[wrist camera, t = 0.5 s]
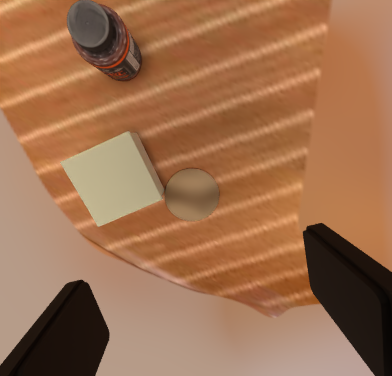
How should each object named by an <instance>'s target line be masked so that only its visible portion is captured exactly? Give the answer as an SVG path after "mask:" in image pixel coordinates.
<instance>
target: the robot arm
mask: <svg viewBox="0 0 392 376" xmlns="http://www.w3.org/2000/svg"><path fill="white" fill-rule="evenodd" d="M303 238H304V245H305V252H306V260H307V267H308V274H309V281H310V287H311V290H312V292H313V294H314V295H315V296H316V298H317V299H318V300H319V302H320V303H321V304H322V306H323V307H324V308H325V310H326V311H327V312H328V314H329V315H330V316H331V318H332V319H333V320H334V322H335V323H336V324H337V326H338V327H339V328H340V330H341V331H342V332H343V334H344V335H345V336H346V338H347V339H348V340H349V342H350V343H351V344H352V346H353V347H354V348H355V350H356V351H357V352H358V354H359V355H360V356H361V358H362V359H363V360H364V362H365V363H366V364H367V366H368V367H369V368H370V370H371V371H372V372H373V374H374V375H375V376H392V272H391V271H389V270H388V269H387V268H385V267H383V266H382V265H381V264H379V263H378V262H377V261H375V260H374V259H372V258H371V257H370V256H368V255H367V254H365V253H364V252H362V251H361V250H360V249H358V248H357V247H355V246H354V245H353V244H351V243H350V242H348V241H347V240H346V239H344V238H343V237H341V236H340V235H339V234H337V233H336V232H334V231H333V230H331V229H330V228H329V227H327V226H326V225H324V224H323V223H319V224H315V225H310V226H307V228H306V230H305V231H303ZM108 341H109V329H108V327H107V325H106V323H105V320H104V318H103V316H102V314H101V311H100V309H99V307H98V305H97V302H96V300H95V298H94V295H93V293H92V290H91V288H90V286H89V284H88V283H87V282H84V281H83V280H77V281H74V282H69V283H67V284H66V285H65V286H64V287H63V288H62V290H61V291H60V292H59V293H58V295H57V296H56V297H55V298H54V300H53V301H52V302H51V303H50V304H49V306H48V307H47V308H46V310H45V311H44V312H43V313H42V314H41V316H40V317H39V318H38V319H37V321H36V322H35V323H34V324H33V326H32V327H31V328H30V329H29V331H28V332H27V333H26V334H25V335H24V337H23V338H22V339H21V341H20V342H19V343H18V344H17V345H16V347H15V348H14V349H13V350H12V352H11V353H10V354H9V355H8V357H7V358H6V359H5V360H4V361H3V363H2V364H1V365H0V376H95V375H96V372H97V369H98V367H99V364H100V362H101V359H102V357H103V354H104V351H105V349H106V346H107V343H108Z"/></svg>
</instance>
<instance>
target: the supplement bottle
mask: <svg viewBox="0 0 392 376" xmlns="http://www.w3.org/2000/svg"><path fill="white" fill-rule="evenodd" d="M67 26H68V30H69V32H70V34H71V36H72V41H73V44H74V46H75V48H76V50H77V51H78V53H79V54H80V55H81V56H82V57H83V58H84V59H85V60H86V61H87V62H89V63H90V64H91V65H93V66H94V67H96V68H97V69H99V70H100V71H102V72H103V73H105V74H106V75H108V76H109V77H111V78H113V79H115V80H119V81H126V80H130V79H132V78H133V77H135V76H136V75H137V73H138V72H139V70H140V67H141V62H142V59H141V53H140V50H139V48H138V46H137V44H136V42H135V41H134V39H133V37H132V36H131V34H130V32H129V31H128V29H127V28H126V26H125V24H124V23H123V21H122V19H121V18H120V17H119V16H118V14H117V13H116V12H115V11H113V10H112V9H111V8H109V7H107V6H105V5H102V4H97V3H95V2H93V1H90V0H80V1H77V2H76V3H74V4H73V5H72V6H71V8H70V10H69V12H68V15H67Z"/></svg>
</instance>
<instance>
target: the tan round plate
mask: <svg viewBox="0 0 392 376" xmlns="http://www.w3.org/2000/svg"><path fill="white" fill-rule="evenodd" d="M165 201H166V204H167V207H168V209H169V210H170V211H171V212H172V213H173V214H174V215H175V216H176V217H178V218H180V219H182V220H185V221H199V220H202V219H204V218H206V217H208V216H209V215H210V214H211V213H212V212H213V211H214V210H215V208H216V207H217V204H218V201H219V189H218V186H217V183H216V182H215V180H214V179H213V177H212V176H211V175H210V174H208V173H207V172H205V171H203V170H200V169H195V168H189V169H184V170H181V171H179V172H177V173H176V174H175V175H173V176H172V177H171V179H170V180H169V181H168V183H167V186H166V189H165Z"/></svg>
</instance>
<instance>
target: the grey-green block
mask: <svg viewBox="0 0 392 376" xmlns="http://www.w3.org/2000/svg"><path fill="white" fill-rule="evenodd" d="M60 163H61V165H62V166H63V168H64V170H65V171H66V173H67V175H68V177H69V178H70V180H71V182H72V183H73V185H74V187H75V188H76V190H77V192H78V193H79V195H80V197H81V199H82V200H83V202H84V204H85V205H86V207H87V209H88V210H89V212H90V214H91V215H92V217H93V219H94V220H95V222H96V224H97V226H98V227H99V226H102V225H104V224H106V223H109V222H111V221H113V220H116V219H118V218H120V217H123V216H125V215H127V214H130V213H132V212H135V211H137V210H139V209H142V208H144V207H146V206H149V205H151V204H153V203H156V202H158V201H160V200H162V199H163V198H162V194H163V192H164V188H163V186H162V184H161V182H160V179H159V177H158V175H157V173H156V171H155V169H154V167H153V165H152V163H151V161H150V159H149V157H148V155H147V153H146V151H145V149H144V147H143V145H142V142H141V140H140V138H139V136H138V134H137V133H130V131H127V132H125V133H123V134H121V135H118V136H116V137H114V138H112V139H110V140H108V141H105V142H103V143H101V144H99V145H97V146H95V147H92V148H90V149H88V150H86V151H84V152H81V153H79V154H77V155H75V156H73V157H71V158H68V159H66V160H64V161H62V162H60Z"/></svg>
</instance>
